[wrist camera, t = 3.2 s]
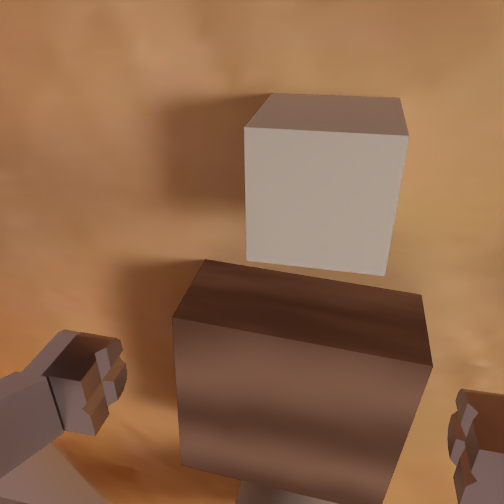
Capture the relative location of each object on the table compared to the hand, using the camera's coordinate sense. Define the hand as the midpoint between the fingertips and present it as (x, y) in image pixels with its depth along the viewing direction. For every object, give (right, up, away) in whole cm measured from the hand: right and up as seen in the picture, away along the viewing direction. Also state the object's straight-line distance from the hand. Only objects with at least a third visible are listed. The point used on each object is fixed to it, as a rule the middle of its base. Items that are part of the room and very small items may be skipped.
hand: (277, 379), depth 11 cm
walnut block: (+3, -4, +20) cm, 20 cm away
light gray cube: (+3, +8, +12) cm, 15 cm away
